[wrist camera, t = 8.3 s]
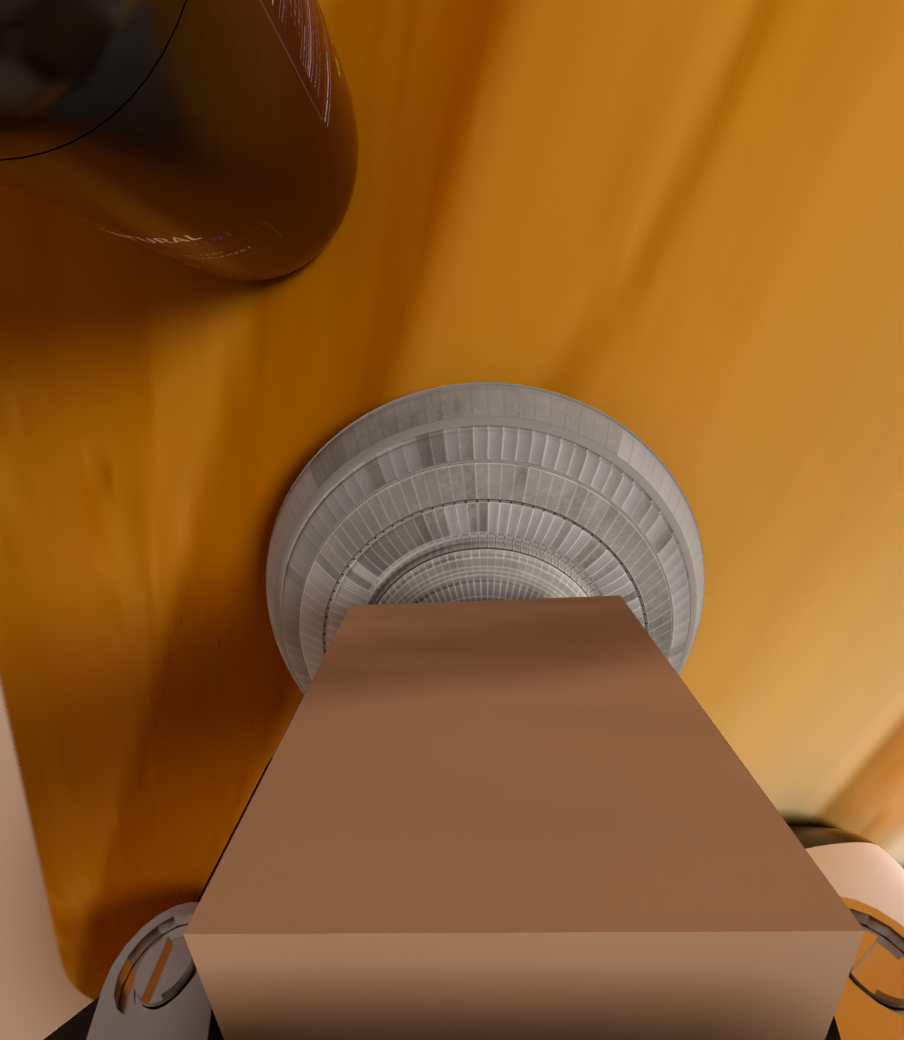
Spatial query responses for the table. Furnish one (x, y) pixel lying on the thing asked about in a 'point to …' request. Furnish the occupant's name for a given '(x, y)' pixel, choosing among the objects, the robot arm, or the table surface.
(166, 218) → the supplement bottle
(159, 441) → the table surface
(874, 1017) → the robot arm
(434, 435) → the flying saucer
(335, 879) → the walnut block
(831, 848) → the spread jar
